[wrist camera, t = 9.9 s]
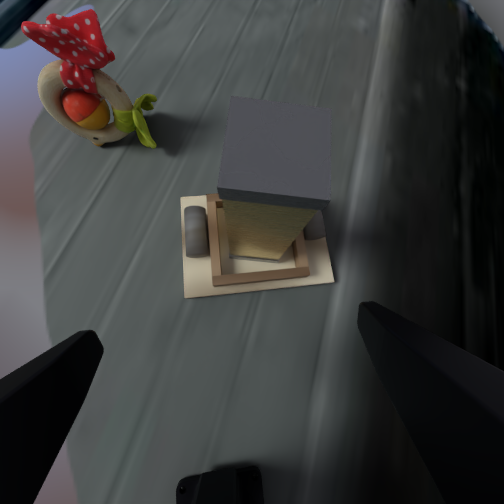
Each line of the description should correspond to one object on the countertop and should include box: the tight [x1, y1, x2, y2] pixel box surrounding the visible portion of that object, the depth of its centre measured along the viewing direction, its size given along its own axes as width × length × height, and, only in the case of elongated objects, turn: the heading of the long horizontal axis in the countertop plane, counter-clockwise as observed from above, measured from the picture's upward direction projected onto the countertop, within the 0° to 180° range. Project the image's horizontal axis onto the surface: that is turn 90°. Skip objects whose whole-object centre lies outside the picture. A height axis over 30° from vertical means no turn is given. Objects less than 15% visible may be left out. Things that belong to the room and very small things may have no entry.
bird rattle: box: [21, 9, 157, 149], centre depth 20 cm, size 6×11×9 cm
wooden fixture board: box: [181, 194, 334, 299], centre depth 22 cm, size 10×14×3 cm
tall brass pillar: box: [217, 96, 331, 263], centre depth 16 cm, size 5×5×13 cm
